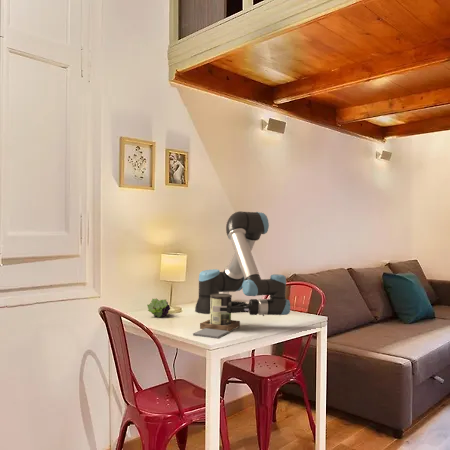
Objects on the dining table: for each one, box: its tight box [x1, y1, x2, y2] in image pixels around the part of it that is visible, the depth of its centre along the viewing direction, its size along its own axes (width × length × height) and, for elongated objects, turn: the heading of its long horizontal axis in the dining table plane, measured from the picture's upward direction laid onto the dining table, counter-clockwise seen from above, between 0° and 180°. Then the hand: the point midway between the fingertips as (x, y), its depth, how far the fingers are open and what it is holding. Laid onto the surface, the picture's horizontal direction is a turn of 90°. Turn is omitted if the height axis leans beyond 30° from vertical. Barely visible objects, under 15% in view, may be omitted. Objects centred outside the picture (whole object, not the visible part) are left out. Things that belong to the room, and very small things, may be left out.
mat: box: [192, 328, 230, 339], centre depth 202 cm, size 12×12×1 cm
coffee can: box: [209, 293, 233, 326], centre depth 216 cm, size 10×10×14 cm
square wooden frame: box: [199, 319, 241, 332], centre depth 216 cm, size 14×14×2 cm
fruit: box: [147, 298, 171, 318], centre depth 239 cm, size 10×10×15 cm
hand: (211, 306), depth 215 cm, fingers closed on coffee can, 10 cm apart
